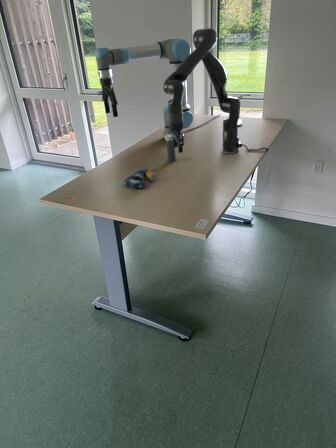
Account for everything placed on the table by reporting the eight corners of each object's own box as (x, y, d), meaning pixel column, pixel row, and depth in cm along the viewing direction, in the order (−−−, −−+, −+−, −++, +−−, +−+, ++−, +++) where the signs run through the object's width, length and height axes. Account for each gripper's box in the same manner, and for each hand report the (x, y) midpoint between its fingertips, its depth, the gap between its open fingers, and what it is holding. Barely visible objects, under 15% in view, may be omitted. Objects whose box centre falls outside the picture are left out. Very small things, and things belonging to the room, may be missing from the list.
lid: (164, 140, 200) (164, 136, 199) (167, 137, 205) (166, 134, 204) (173, 140, 199) (173, 137, 198) (175, 137, 203) (175, 134, 202)
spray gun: (162, 175, 189) (139, 172, 195) (161, 168, 187) (138, 166, 193) (144, 191, 174) (120, 188, 180) (143, 184, 171) (119, 181, 178)
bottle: (166, 161, 208) (164, 137, 200) (169, 159, 212) (167, 134, 204) (174, 162, 206) (172, 137, 198) (176, 159, 210) (174, 135, 202)
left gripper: (93, 76, 203) (99, 112, 214) (107, 80, 184) (113, 119, 195) (104, 75, 206) (110, 110, 217) (119, 78, 187) (125, 117, 198)
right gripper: (187, 122, 169) (189, 152, 178) (178, 115, 181) (180, 144, 190) (173, 125, 168) (175, 155, 177) (165, 118, 179) (167, 146, 188)
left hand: (111, 114), depth 206 cm, fingers open, 13 cm apart
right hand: (178, 149), depth 183 cm, fingers open, 8 cm apart
